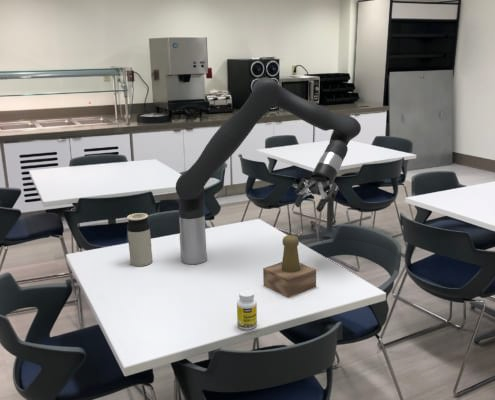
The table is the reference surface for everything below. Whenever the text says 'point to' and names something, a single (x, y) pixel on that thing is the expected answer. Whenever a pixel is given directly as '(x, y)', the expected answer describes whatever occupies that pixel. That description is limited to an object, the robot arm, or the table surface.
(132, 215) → the travel mug
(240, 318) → the supplement bottle
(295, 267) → the cork
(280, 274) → the walnut riser
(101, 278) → the table surface
